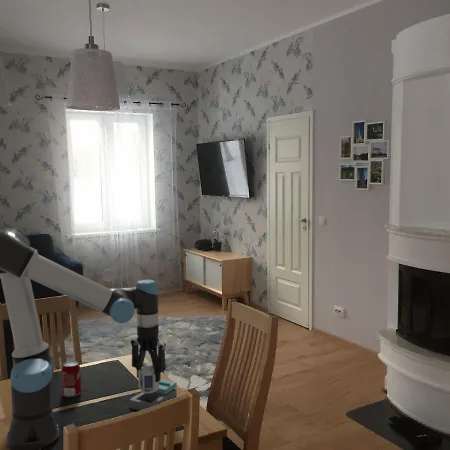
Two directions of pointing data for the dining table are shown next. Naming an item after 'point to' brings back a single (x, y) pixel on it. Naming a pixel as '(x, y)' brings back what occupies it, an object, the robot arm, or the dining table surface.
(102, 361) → the dining table surface
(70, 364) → the soda can
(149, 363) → the pill bottle
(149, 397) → the socket block
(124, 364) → the dining table surface
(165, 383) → the teal ridged square block
